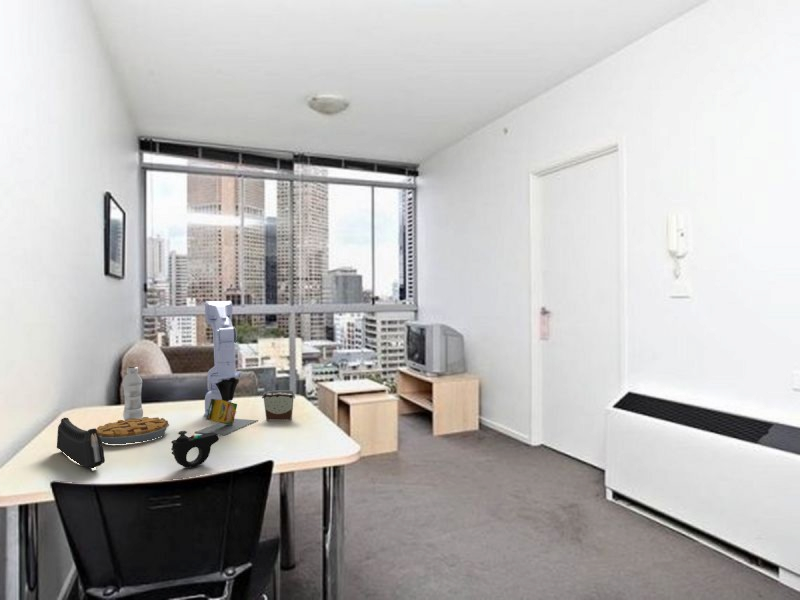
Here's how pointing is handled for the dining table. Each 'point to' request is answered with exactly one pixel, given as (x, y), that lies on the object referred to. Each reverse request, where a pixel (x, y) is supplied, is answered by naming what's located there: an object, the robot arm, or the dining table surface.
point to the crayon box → (222, 411)
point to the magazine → (80, 444)
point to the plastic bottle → (132, 394)
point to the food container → (278, 404)
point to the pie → (132, 430)
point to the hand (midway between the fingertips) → (227, 400)
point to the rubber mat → (226, 427)
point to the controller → (187, 443)
